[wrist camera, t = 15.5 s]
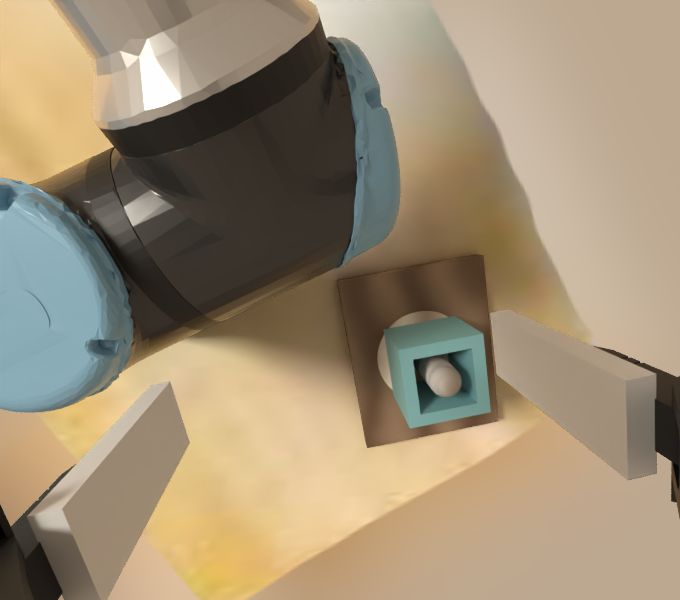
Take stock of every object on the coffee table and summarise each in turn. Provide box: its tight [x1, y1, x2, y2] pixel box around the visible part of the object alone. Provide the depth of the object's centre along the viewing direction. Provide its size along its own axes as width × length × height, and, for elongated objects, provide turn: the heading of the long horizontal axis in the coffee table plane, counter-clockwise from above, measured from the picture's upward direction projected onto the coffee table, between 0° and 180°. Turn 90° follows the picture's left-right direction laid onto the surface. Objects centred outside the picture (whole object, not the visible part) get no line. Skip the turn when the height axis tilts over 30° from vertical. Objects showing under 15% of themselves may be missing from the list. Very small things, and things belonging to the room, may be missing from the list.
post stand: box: [337, 255, 498, 448], centre depth 39 cm, size 16×20×10 cm
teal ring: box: [383, 316, 491, 429], centre depth 38 cm, size 8×8×7 cm
